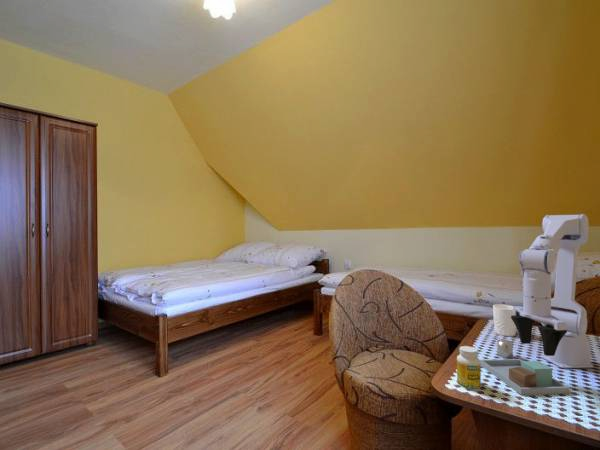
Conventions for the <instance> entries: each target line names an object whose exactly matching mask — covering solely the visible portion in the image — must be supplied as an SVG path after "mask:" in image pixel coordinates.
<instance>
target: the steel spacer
mask: <svg viewBox="0 0 600 450" xmlns="http://www.w3.org/2000/svg"><path fill="white" fill-rule="evenodd" d="M496 341H497V344H496V346H497V347H496V348H497V356H498V357H500V358H501V359H514V342H513V341H511V340H508V339H504V338H503V339H501V338H499V339H497V340H496Z"/></svg>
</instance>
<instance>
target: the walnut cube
mask: <svg viewBox="0 0 600 450" xmlns="http://www.w3.org/2000/svg"><path fill="white" fill-rule="evenodd" d="M509 379H510V380H511V381H513V382H514V383H516V384H517V385H518V386H520V387H521V388H525V387H536V373H534V372H532V371H530V370H528V369H525V368H523V367H521V366H520V367H514V368H509Z"/></svg>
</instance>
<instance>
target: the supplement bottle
mask: <svg viewBox="0 0 600 450" xmlns="http://www.w3.org/2000/svg"><path fill="white" fill-rule="evenodd" d="M480 360H481V359H480V358H478V350H477V348H474V347H472V346H468V345H464V346H460V347H459V354H458V355H457V356H456V383H457V385H458V386H460V387H462V388H464V389H467V390H470V391H471V390H472V391H473V390H474V391H476V390H480V389H481V386H482V385H481V384H482V381H481V379H482V378H481V373H482V372H481V371H482V370H481V369H482V368H481V367H482V366H481V363H480Z"/></svg>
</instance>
